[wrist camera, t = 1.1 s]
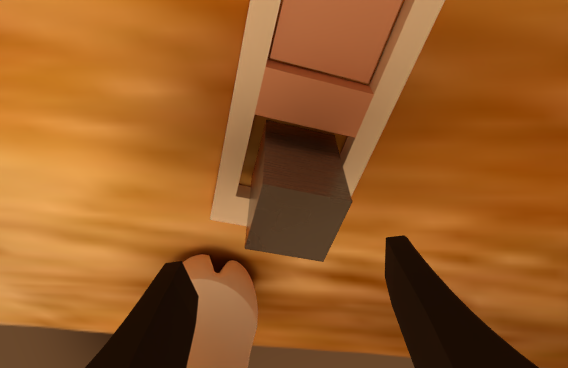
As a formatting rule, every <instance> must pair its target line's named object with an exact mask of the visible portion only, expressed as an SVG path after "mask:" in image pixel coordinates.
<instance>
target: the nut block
mask: <svg viewBox="0 0 568 368" xmlns="http://www.w3.org/2000/svg"><path fill="white" fill-rule="evenodd" d="M351 203H352V199H351V195H350V191H349V188H348V184H347V180H346V176H345V173H344V169H343V165H342V162H341V158H340V154H339V150H338V147H337V143H336V139H335V136H334V135H330V134H326V133H322V132H317V131H313V130H309V129H304V128H300V127H296V126H291V125H287V124H283V123H278V122H274V121H270V120H266V123H265V127H264V131H263V135H262V138H261V142H260V146H259V150H258V154H257V158H256V162H255V166H254V170H253V174H252V180H251V190H250V200H249V209H248V219H247V229H246V239H245V249H250V250H256V251H262V252H268V253H274V254H280V255H286V256H292V257H298V258H304V259H310V260H316V261H322V262H323V261H324V259H325V257H326V255H327V253H328V251H329V249H330V247H331V245H332V243H333V241H334V239H335V237H336V234H337V232H338V230H339V228H340V226H341V224H342V222H343V220H344V218H345V216H346V214H347V212H348V210H349V208H350V206H351Z"/></svg>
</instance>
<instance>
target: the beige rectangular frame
mask: <svg viewBox="0 0 568 368" xmlns="http://www.w3.org/2000/svg"><path fill="white" fill-rule="evenodd" d="M402 1H403V0H283V2H282V7H281V11H280V15H279V20H278V24H277V28H276V32H275V37H274V41H273V45H272V50H271V54H270V58H272V59H276V60H279V61H283V62H287V63H291V64H295V65H299V66H303V67H306V68H310V69H314V70H318V71H322V72H326V73H329V74H333V75H337V76H341V77H345V78H349V79H353V80H356V81H360V82H364V83H369V81H370V78H371V76H372V73H373V71H374V68H375V66H376V64H377V61H378V59H379V56H380V54H381V52H382V49H383V47H384V44H385V42H386V39H387V37H388V35H389V32H390V30H391V27H392V25H393V23H394V20H395V18H396V15H397V13H398V10H399V8H400V6H401V3H402ZM444 1H445V0H404V3H403V5H402V8H401V10H400V12H399V15H398V17H397V20H396V22H395V24H394V27H393V29H392V32H391V34H390V36H389V39H388V41H387V44H386V46H385V48H384V51H383V53H382V56H381V58H380V60H379V63H378V65H377V68H376V70H375V72H374V75H373V77H372V80H371V82H370V84H369V85H365V84H361V83H357V82H353V81H349V80H346V79H342V78H338V77H334V76H330V75H326V74H322V73H319V72H315V71H311V70H307V69H303V68H299V67H295V66H291V65H288V64H284V63H280V62H276V61H272V60H268V59H267V58H268V54H269V50H270V45H271V41H272V37H273V32H274V28H275V23H276V19H277V15H278V10H279V6H280V2H281V0H250V4H249V10H248V15H247V20H246V26H245V31H244V37H243V42H242V48H241V53H240V59H239V64H238V69H237V75H236V80H235V86H234V91H233V97H232V102H231V107H230V113H229V118H228V124H227V129H226V135H225V140H224V145H223V151H222V156H221V162H220V167H219V173H218V178H217V184H216V189H215V194H214V200H213V205H212V211H211V216H210V220H214V221H220V222H226V223H231V224H237V225H242V226H247V219H248V209H249V200H250V190H251V187H248V186H243V185H238V184H239V180H240V176H241V171H242V167H243V163H244V158H245V154H246V150H247V145H248V141H249V136H250V132H251V128H252V123H253V119H254V115H259V116H263V117H268V118H272V119H276V120H281V121H285V122H289V123H294V124H298V125H302V126H307V127H311V128H315V129H320V130H324V131H328V132H333V133H337V134H341V135H346V136H348V137H347V140H346V142H345V144H344V147H343V149H342V152H341V154H340V158H341V162H342V165H343V169H344V173H345V176H346V180H347V184H348V188H349V191H350V195H351V196H352V194H353V192H354V190H355V188H356V186H357V184H358V182H359V179H360V177H361V175H362V173H363V171H364V169H365V167H366V165H367V163H368V161H369V158H370V156H371V154H372V152H373V150H374V148H375V146H376V144H377V142H378V140H379V138H380V135H381V133H382V131H383V129H384V127H385V125H386V123H387V121H388V119H389V117H390V115H391V112H392V110H393V108H394V106H395V104H396V102H397V100H398V98H399V96H400V94H401V91H402V89H403V87H404V85H405V83H406V81H407V79H408V77H409V75H410V73H411V71H412V68H413V66H414V64H415V62H416V60H417V58H418V56H419V54H420V52H421V50H422V48H423V45H424V43H425V41H426V39H427V37H428V35H429V33H430V31H431V29H432V27H433V24H434V22H435V20H436V18H437V16H438V14H439V12H440V10H441V8H442V6H443V4H444Z"/></svg>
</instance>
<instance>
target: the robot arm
mask: <svg viewBox="0 0 568 368" xmlns="http://www.w3.org/2000/svg"><path fill="white" fill-rule="evenodd" d="M385 279H386V283H387V288H388V292H389V296H390V300H391V304H392V307H393V309H394V312H395V315H396V318H397V321H398V323H399V326H400V329H401V332H402V334H403V337H404V340H405V342H406V345H407V348H408V351H409V353H410V356H411V359H412V362H413V364H414V367H415V368H539V367H537V366H536V365H535V364H533V363H532V362H531V361H529V360H528V359H527V358H525V357H524V356H523V355H521V354H520V353H519V352H518V351H516V350H515V349H514V348H513V347H512V346H510V345H509V344H508V343H507V342H506V341H504V340H503V339H502V338H501V337H500V336H498V335H497V334H496V333H495V332H494V331H493V330H492V329H491V328H489V327H488V326H487V325H486V324H485V323H484V322H483V321H482V320H481V319H479V318H478V317H477V316H476V315H475V314H474V313H473V312H472V311H471V310H470V309H469V308H468V307H467V306H466V305H465V304H464V303H463V302H462V301H461V300H460V299H459V298H458V297H457V296H456V295H455V294H454V293H453V292H452V291H451V290H450V289H449V287H448V286H447V285H446V284H445V283H444V282H443V281H442V280H441V279H440V278H439V276H438V275H437V274H436V273H435V272H434V271H433V270H432V269H431V267H430V266H429V265H428V264H427V263H426V261H425V260H424V259H423V258H422V256H421V255H420V254H419V253H418V251H417V250H416V249H415V248H414V246H413V245H412V244H411V242H410V241H409V239H408V238H407V237H406V236H395V237H387V238H386V253H385ZM198 299H199V296H198V294H197V292H196V290H195V288H194V285H193V283H192V281H191V279H190V277H189V275H188V273H187V271H186V269H185V267H184V265H183V263H182V261H180V262H172V263H165V265H164V266H163V267H162V269H161V270H160V271H159V273H158V274H157V276H156V277H155V279H154V280H153V281H152V283H151V284H150V286H149V287H148V289H147V290H146V291H145V293H144V294H143V296H142V297H141V298H140V300H139V301H138V303H137V304H136V305H135V307H134V308H133V309H132V311H131V312H130V314H129V315H128V316H127V318H126V319H125V320H124V322H123V323H122V324H121V325H120V327H119V328H118V329H117V330H116V332H115V333H114V334H113V335H112V337H111V338H110V339H109V341H108V342H107V343H106V344H105V345H104V347H103V348H102V349H101V350H100V352H99V353H98V354H97V355H96V356H95V357H94V358H93V359H92V361H91V362H90V363H89V364H88V365H87V366H86V367H85V368H186V367H187V363H188V358H189V354H190V349H191V345H192V340H193V336H194V331H195V327H196V319H197V310H198Z"/></svg>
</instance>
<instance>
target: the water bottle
mask: <svg viewBox="0 0 568 368" xmlns="http://www.w3.org/2000/svg"><path fill="white" fill-rule="evenodd" d="M183 265H184V267H185V269H186V271H187V273H188V275H189V277H190V279H191V281H192V283H193V285H194V288H195V290H196V292H197V294H198V296H199V299H198V310H197V319H196V327H195V331H194V336H193V340H192V345H191V349H190V354H189V358H188V363H187V367H186V368H248V363H249V356H250V352H251V347H252V343H253V339H254V336H255V332H256V329H257V317H258V306H257V299H256V293H255V289H254V285H253V282H252V280H251V277H250V275H249V274H248V272H247V270H246V269H245V268H244V267H243V266H242V265H241V264H240V263H238V262H237V261H234V260H231V261H228V262H227V263H226V264H225V266H224V267H223V269H222V270H221V272H220V273H216V272H214V268H213V265H212V262H211V259H210V256H209V255H204V254H200V255H196V256H192V257H190V258H188V259H187V260H185V261H184V262H183Z"/></svg>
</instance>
